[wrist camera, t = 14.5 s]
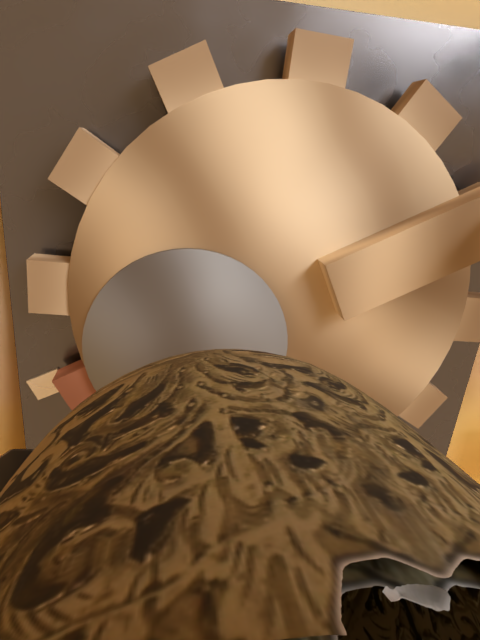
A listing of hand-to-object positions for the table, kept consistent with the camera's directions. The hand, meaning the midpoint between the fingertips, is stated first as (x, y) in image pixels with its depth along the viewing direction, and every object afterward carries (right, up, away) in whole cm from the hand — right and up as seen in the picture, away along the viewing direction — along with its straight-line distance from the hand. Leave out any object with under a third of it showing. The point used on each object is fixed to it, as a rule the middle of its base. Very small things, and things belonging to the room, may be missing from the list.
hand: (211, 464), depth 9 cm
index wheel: (+2, +4, +10) cm, 11 cm away
